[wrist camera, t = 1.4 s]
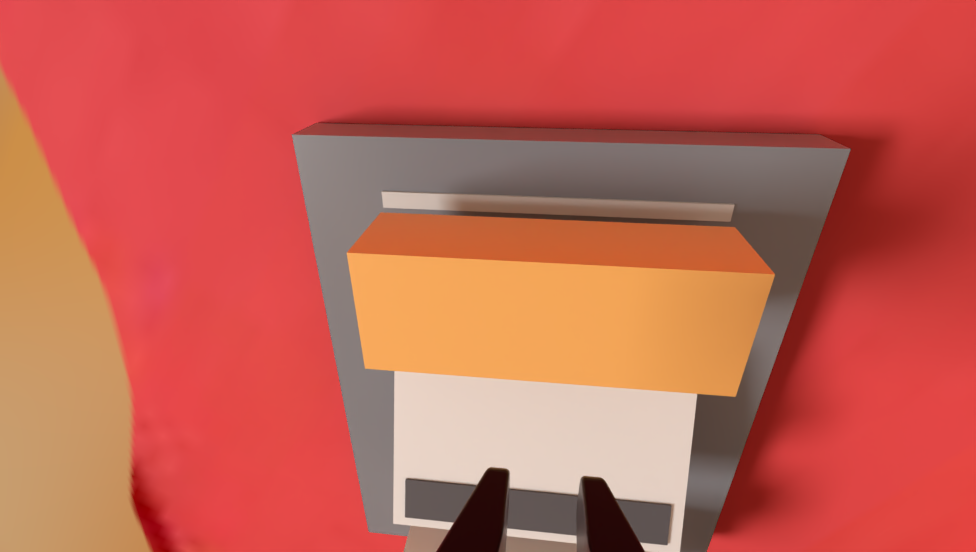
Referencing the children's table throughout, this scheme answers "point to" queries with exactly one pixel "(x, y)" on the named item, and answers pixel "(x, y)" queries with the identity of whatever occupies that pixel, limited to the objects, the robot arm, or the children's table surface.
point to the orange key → (559, 301)
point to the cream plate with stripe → (541, 452)
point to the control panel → (567, 196)
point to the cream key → (428, 540)
